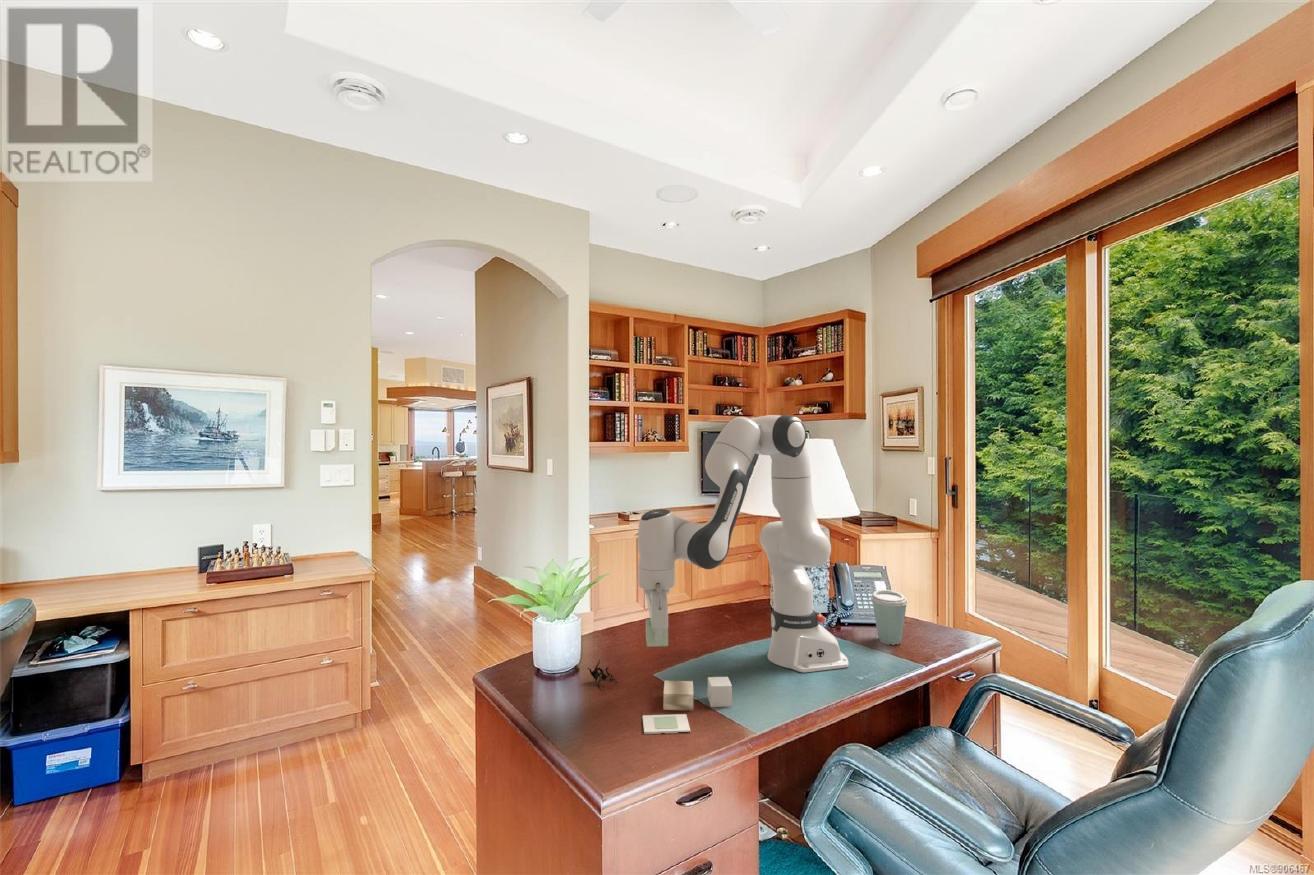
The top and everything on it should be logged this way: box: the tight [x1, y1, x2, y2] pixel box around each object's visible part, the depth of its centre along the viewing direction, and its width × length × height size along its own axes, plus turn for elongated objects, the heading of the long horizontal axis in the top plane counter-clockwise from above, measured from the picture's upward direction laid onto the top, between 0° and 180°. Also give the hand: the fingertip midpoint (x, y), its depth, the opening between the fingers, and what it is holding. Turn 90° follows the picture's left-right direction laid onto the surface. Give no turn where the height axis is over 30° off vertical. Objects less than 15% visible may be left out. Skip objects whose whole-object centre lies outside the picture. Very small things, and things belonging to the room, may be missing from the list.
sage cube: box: [645, 617, 669, 648], centre depth 133 cm, size 5×5×5 cm
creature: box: [586, 659, 618, 691], centre depth 143 cm, size 8×5×8 cm
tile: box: [642, 713, 691, 735], centre depth 122 cm, size 10×7×1 cm
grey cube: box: [707, 676, 733, 708], centre depth 134 cm, size 5×5×5 cm
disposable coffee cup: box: [870, 589, 908, 646], centre depth 174 cm, size 11×11×15 cm
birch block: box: [662, 680, 694, 711], centre depth 133 cm, size 7×7×4 cm
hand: (657, 635), depth 133 cm, fingers closed on sage cube, 5 cm apart
